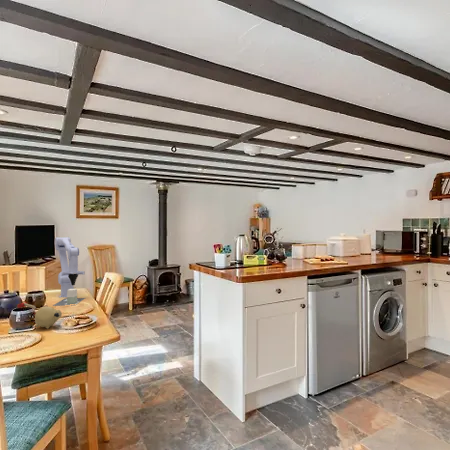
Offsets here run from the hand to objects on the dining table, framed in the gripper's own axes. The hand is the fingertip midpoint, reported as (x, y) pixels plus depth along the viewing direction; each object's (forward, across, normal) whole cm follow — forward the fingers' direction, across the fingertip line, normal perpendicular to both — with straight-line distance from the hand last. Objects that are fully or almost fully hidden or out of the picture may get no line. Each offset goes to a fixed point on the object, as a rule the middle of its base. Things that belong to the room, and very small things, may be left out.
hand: (73, 285), depth 216 cm
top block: (+6, +3, -10) cm, 12 cm away
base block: (+10, +3, -10) cm, 14 cm away
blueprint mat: (+10, 0, -6) cm, 12 cm away
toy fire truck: (+11, -5, -46) cm, 47 cm away
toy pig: (+11, +9, -58) cm, 59 cm away
